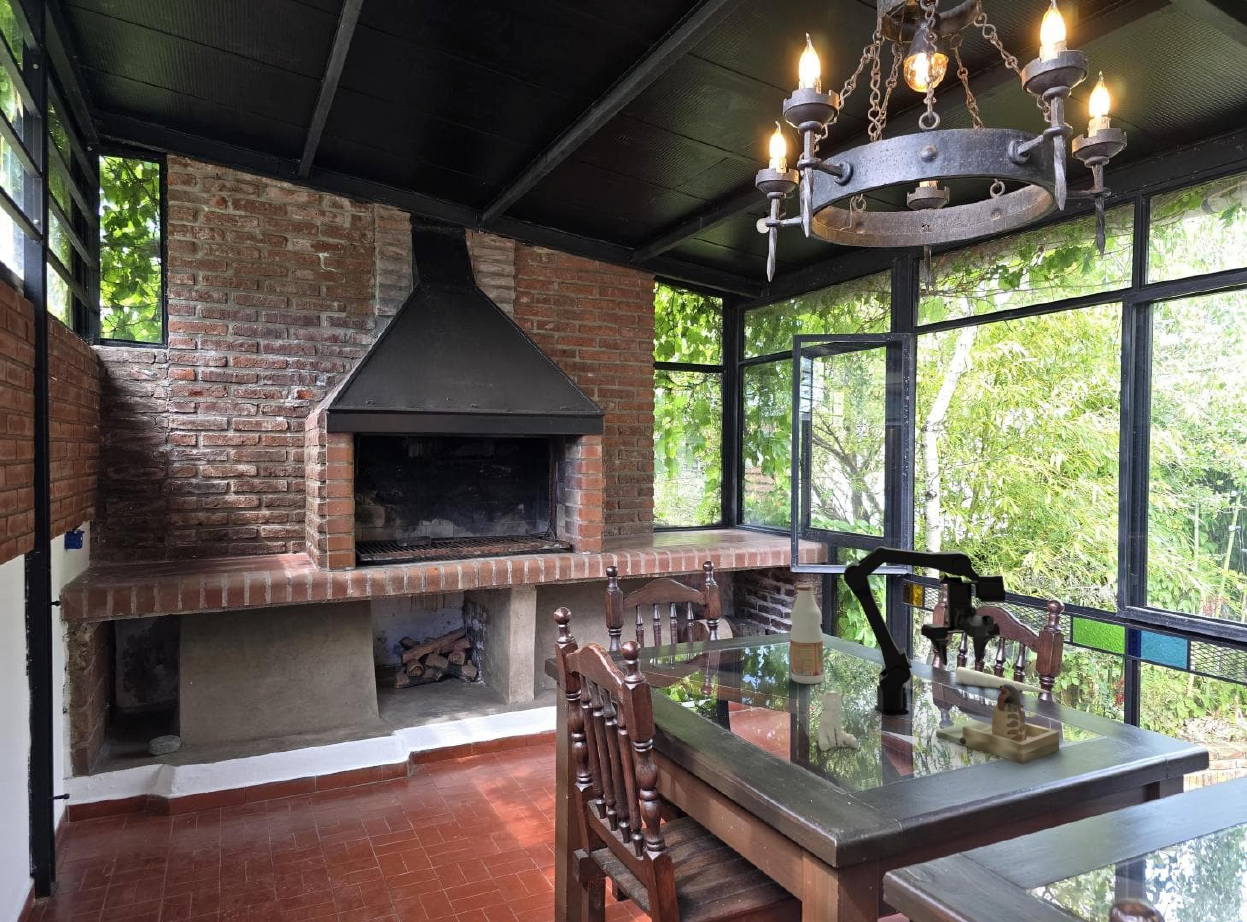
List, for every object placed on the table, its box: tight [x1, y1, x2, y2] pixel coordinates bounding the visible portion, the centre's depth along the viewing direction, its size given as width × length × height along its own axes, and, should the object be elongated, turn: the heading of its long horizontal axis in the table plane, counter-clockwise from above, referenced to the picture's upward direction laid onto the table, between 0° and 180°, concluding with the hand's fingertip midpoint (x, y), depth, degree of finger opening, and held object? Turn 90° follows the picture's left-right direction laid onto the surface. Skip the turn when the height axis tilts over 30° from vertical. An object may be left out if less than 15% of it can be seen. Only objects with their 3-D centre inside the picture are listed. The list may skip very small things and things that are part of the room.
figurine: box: [991, 684, 1027, 742], centre depth 174 cm, size 7×7×12 cm
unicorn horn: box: [955, 666, 1050, 694], centre depth 219 cm, size 5×24×5 cm, turn 54°
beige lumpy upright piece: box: [816, 689, 860, 752], centre depth 179 cm, size 10×9×12 cm
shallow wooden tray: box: [935, 719, 1060, 765], centre depth 177 cm, size 21×14×4 cm
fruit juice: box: [789, 584, 825, 685], centre depth 231 cm, size 9×9×28 cm
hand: (961, 663), depth 196 cm, fingers open, 9 cm apart
